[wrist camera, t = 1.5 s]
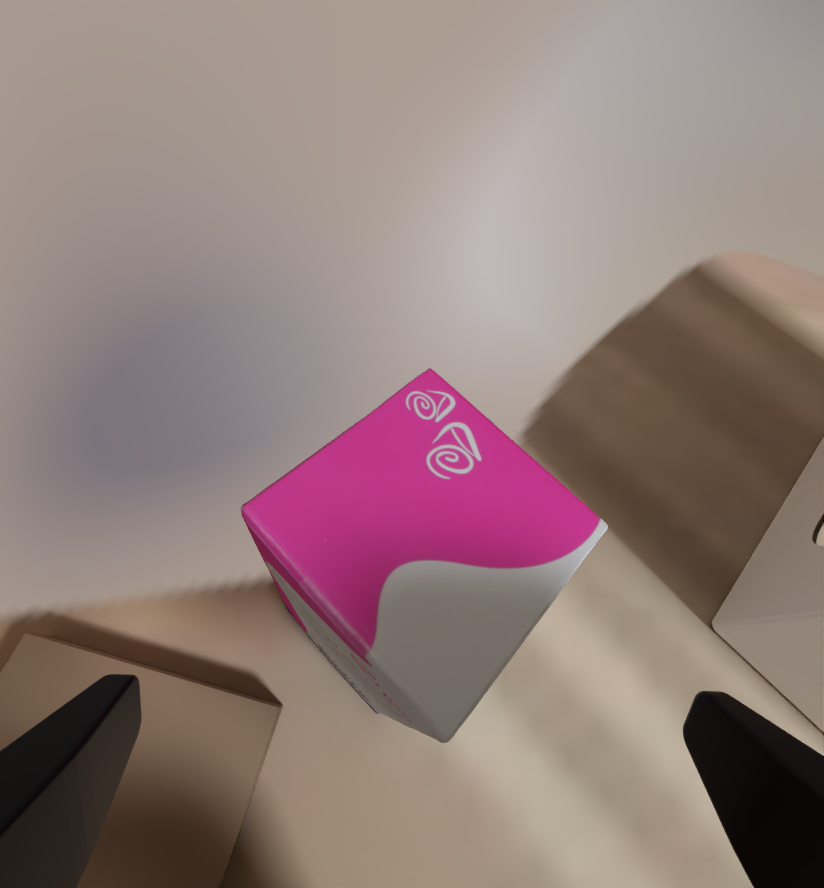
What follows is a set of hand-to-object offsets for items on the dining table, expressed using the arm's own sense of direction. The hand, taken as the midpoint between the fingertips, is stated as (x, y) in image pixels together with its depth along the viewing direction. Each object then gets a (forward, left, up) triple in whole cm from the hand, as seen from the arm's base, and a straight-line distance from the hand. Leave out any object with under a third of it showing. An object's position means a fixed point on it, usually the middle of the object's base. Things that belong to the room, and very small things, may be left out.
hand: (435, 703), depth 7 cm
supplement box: (+3, +1, -12) cm, 13 cm away
